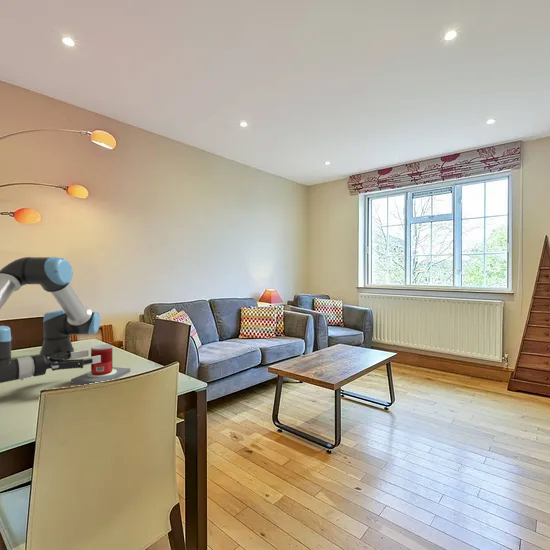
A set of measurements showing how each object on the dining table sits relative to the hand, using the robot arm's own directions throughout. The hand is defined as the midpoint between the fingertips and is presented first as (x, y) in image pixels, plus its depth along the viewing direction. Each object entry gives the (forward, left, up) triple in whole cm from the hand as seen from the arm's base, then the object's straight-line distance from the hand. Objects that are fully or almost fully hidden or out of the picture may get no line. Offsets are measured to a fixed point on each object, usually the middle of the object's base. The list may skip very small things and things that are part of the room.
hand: (94, 355), depth 139 cm
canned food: (-3, +1, -8) cm, 9 cm away
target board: (-3, +1, -10) cm, 10 cm away
